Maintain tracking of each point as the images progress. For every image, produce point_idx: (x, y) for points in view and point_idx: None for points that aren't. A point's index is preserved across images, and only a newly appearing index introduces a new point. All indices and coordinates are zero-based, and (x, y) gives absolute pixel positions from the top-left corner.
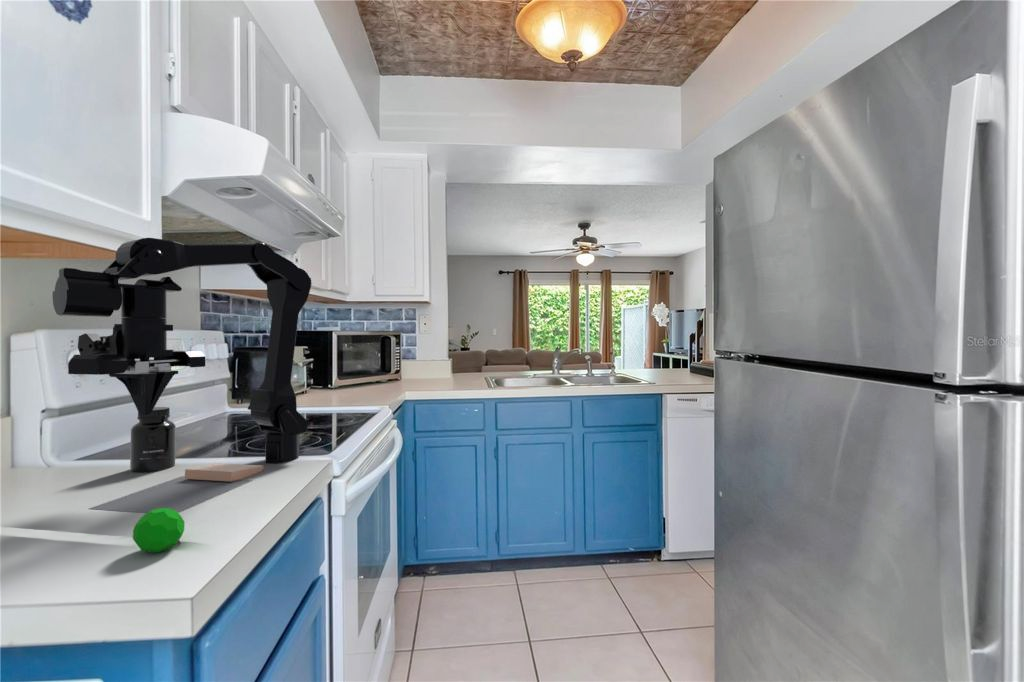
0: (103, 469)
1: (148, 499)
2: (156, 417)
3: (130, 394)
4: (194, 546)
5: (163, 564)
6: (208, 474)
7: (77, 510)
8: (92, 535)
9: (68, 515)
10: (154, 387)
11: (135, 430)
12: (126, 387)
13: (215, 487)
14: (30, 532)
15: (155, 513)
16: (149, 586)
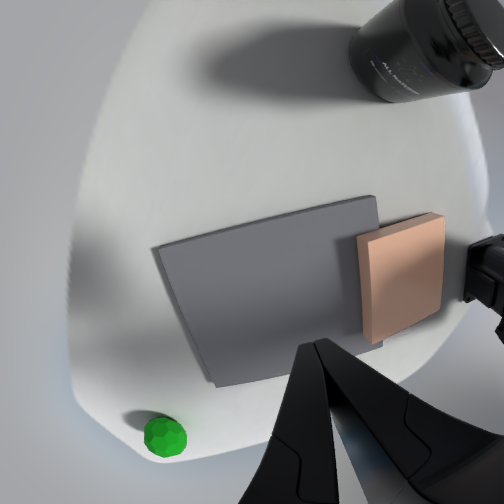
0: None
1: (240, 296)
2: (476, 55)
3: (267, 447)
4: (190, 436)
5: None
6: (366, 297)
7: (160, 200)
8: (135, 342)
9: (141, 217)
10: (371, 500)
11: (407, 17)
12: (240, 501)
13: (335, 333)
14: (88, 253)
15: (156, 454)
16: (142, 447)
